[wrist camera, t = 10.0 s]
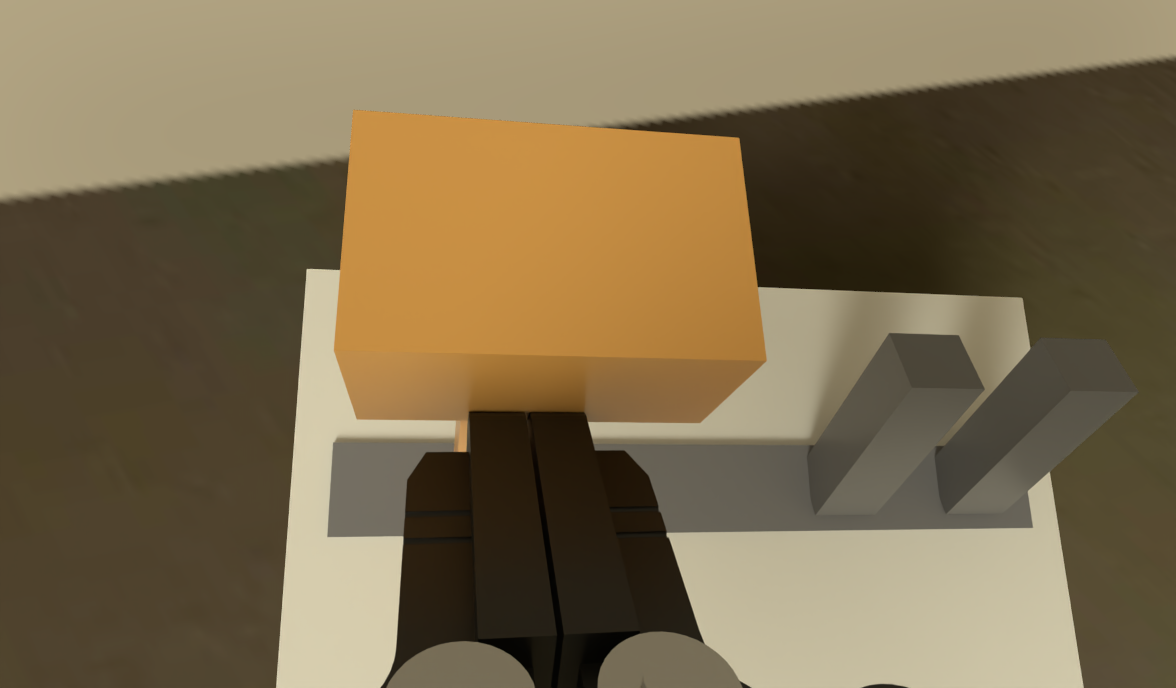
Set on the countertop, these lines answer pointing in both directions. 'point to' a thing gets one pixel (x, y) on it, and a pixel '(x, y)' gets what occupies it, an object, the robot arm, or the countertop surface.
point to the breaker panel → (772, 498)
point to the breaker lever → (543, 272)
